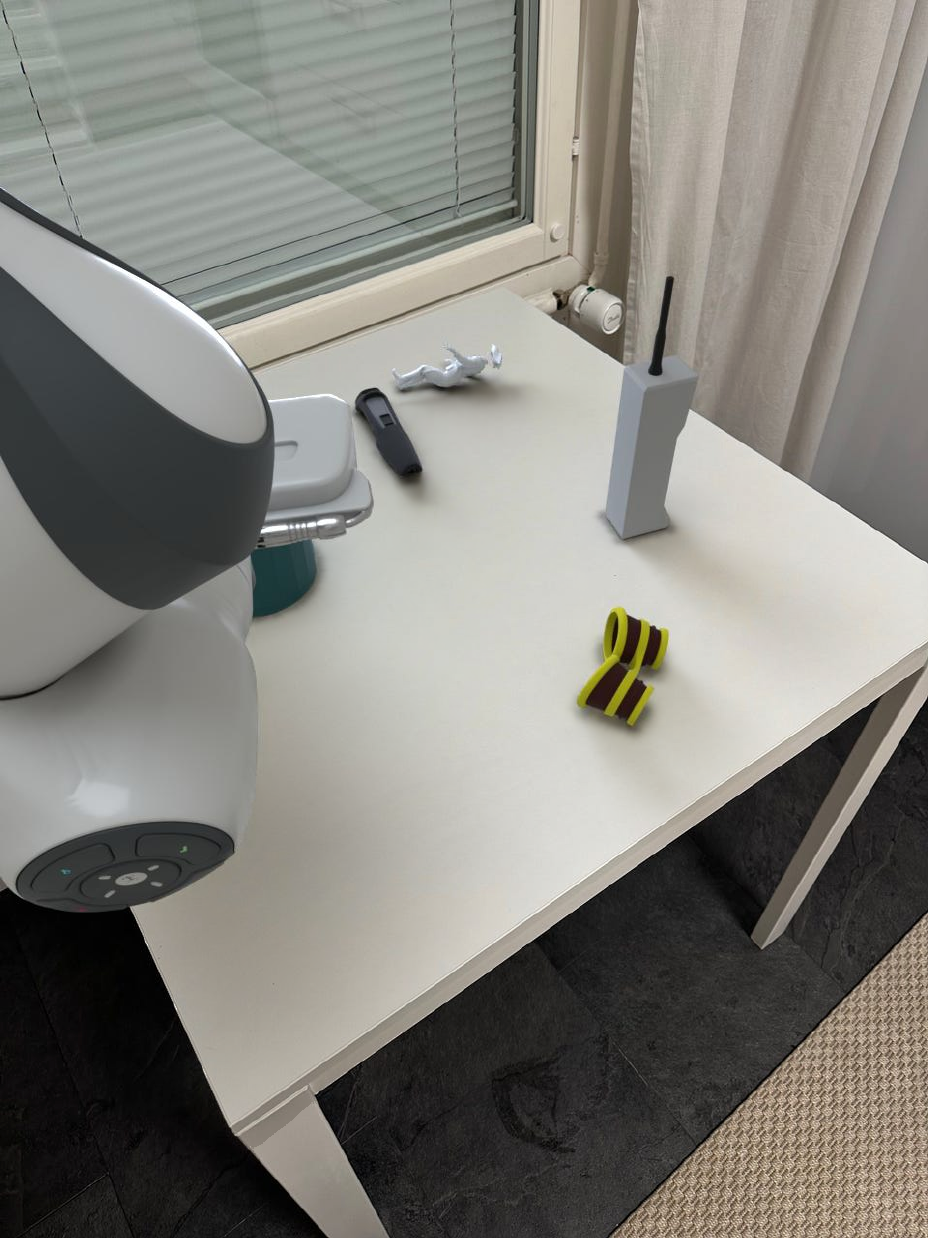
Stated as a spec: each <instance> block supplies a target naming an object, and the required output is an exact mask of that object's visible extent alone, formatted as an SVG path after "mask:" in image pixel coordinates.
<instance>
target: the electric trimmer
mask: <svg viewBox="0 0 928 1238" xmlns="http://www.w3.org/2000/svg"><path fill="white" fill-rule="evenodd" d="M354 409H355V411H356V412H357V413H363V415H364V416H365V418H366V420H367V422H368V423H369V425H370V427H371V430H372V431H373V434H374V437H375V444H376V448H377V450H378V451H379V452H380V454H381V456H383V458H384V459H385V460H386V462H388V464H389V465H390V466H391V467H392V468H393V470H394V471H395V472H396V474H397V475H398V476H399V477H400V478H406V477H410V476H413V475H417V474H421V473H422V472H423V466H422V463H421V461H420V458H419V457H418V454H417V452H416V450H415V448H414V445H413V443H412V441H411V439H410V437H409V436H408V434H407V432H406V431H405V429H404V427H403V426H402V423H401V422H400V420H399V417H398V416H397V414H396V412H395V410H394V408H393V406H392V404H391V402H390V400H389V397H388V396H387V395H386V394H385V393H384V392H383V391H381V390H380V388H378V387H370V388H365V389H362V390H361V391H360V392H359V393H358V395H357V396H356V398H355V400H354Z"/></svg>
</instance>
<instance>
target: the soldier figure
mask: <svg viewBox="0 0 928 1238" xmlns="http://www.w3.org/2000/svg"><path fill="white" fill-rule="evenodd" d="M442 346H443V347H442V348H444V349H446V351H449V352H451V353H452V354H453V358H454V359H456V360H452V359H450V358H449V359H448V358H447V359H444V362H445V363H449V364H450V365H447V366H445V367H444V369H445V370H444V371H442V370H441V369H439V368H437V367H433V366H431V365H425V364H421V365H420V366H419V367H418V368H416V369H415V370H412V371H411V372H409V373H405V374H402V375H401V374H399V373H398V372H397V369H396V368H392V376H393V378H394V380H395V381H396V383H397V385H398V387H399V390H400V391H402V390H404V389H406V388H407V387H409V386H412V385H415V384H416V385H417V383H419V382H422V381H423V380H426V381H427V382H429V383H431V384H434V385H436V386H437V387H441V388H452V387H453V386H455V385H457V384H458V383H459V382H461V381H462V380H463V379H464V378H465V377H467V378H468V377H470V376H475V375H479V374H481V373H482V372H483V370H484V369H485V368H486V365H488V364H489V365H490V366H491V367H492V369H497V370H500V368H501V366H502V361H503V357H502V353H501V351H500V350H499V348H498V347H497V346H496V345H495V344H494V343H492V345H491V351H488V352H486V355H489V354H490V356H491V358H490V359H488V358H486V357H484V356H483V355H482V354H478V355H477V354H474V355H473V354H472V355H470V356H468V357H466V356H464V355H462V354H461V353H460V352H459V351H457V350H456V349H455V348H454V347H453V346H452V345H450V344H449V343H442ZM490 361H491V363H489V362H490Z"/></svg>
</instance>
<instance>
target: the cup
mask: <svg viewBox="0 0 928 1238" xmlns="http://www.w3.org/2000/svg"><path fill="white" fill-rule="evenodd" d="M313 543H314V542H313V539H311V540H310V539H308V540H303V541H300V542H298V541H297V542H296V543H291V544H287V545H283V546H275V547H268V548H261V549H254V550H253V552H252V553H251V560H252V564H253V568H254V572H255V576H256V585H255V588H254V590H253V616H252V619H253V618H260V617H266V616H269V615H273V614H275V613H279V612H281V611H284V610H285V609H287V608H289V607H290V606H292V605H295V603H297V602H299V600H300V599H302V598H303V597H304V596H305V595H306V593H308V591H309V590H310V588H311V587H312V585H313V583H314V581H315V579H316V576H317V575H316V574H317V563H316V557H315V556H316V555H315V554H316V553H315V548H314V544H313Z"/></svg>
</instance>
